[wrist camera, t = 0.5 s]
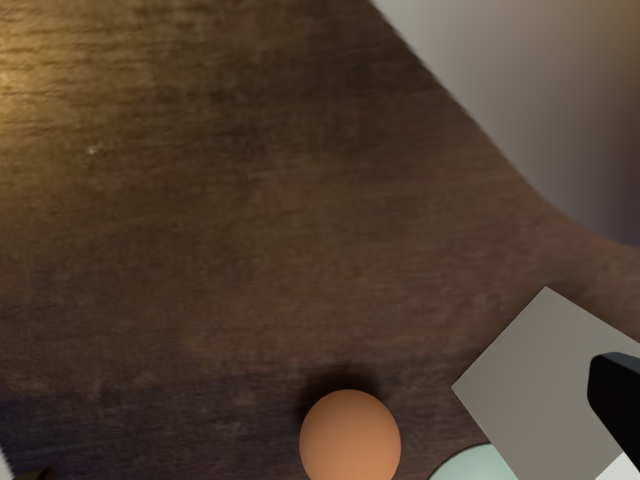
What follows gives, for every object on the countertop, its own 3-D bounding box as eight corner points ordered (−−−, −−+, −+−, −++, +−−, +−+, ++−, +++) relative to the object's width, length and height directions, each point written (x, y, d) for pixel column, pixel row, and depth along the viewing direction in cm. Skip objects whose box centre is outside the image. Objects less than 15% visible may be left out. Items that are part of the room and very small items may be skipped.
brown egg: (370, 448, 26) (400, 526, 21) (285, 445, 25) (297, 527, 20) (392, 373, 24) (429, 439, 20) (303, 366, 23) (320, 434, 19)
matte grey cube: (648, 380, 28) (815, 495, 20) (561, 466, 29) (687, 609, 21) (545, 285, 24) (697, 379, 16) (450, 387, 25) (550, 522, 17)
